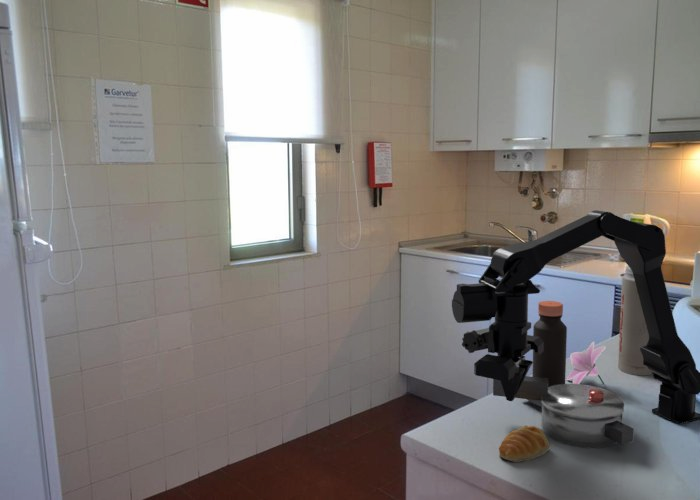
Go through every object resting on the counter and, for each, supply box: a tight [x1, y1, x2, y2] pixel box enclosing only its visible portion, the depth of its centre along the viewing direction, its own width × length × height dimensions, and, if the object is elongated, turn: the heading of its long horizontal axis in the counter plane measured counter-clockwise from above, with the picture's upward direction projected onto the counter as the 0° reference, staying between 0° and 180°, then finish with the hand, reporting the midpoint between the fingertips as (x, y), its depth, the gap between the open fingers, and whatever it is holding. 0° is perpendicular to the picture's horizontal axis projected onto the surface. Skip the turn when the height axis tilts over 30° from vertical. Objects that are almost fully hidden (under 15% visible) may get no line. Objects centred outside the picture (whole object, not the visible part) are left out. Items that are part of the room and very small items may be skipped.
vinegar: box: [531, 300, 568, 387], centre depth 127 cm, size 7×7×20 cm
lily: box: [565, 340, 607, 385], centre depth 132 cm, size 12×12×10 cm
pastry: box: [498, 425, 551, 463], centre depth 103 cm, size 9×7×4 cm
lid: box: [492, 375, 625, 421], centre depth 111 cm, size 14×23×4 cm, turn 69°
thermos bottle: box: [617, 265, 652, 376], centre depth 138 cm, size 8×8×28 cm
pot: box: [526, 399, 635, 449], centre depth 113 cm, size 14×26×5 cm, turn 24°
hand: (510, 400), depth 108 cm, fingers closed
